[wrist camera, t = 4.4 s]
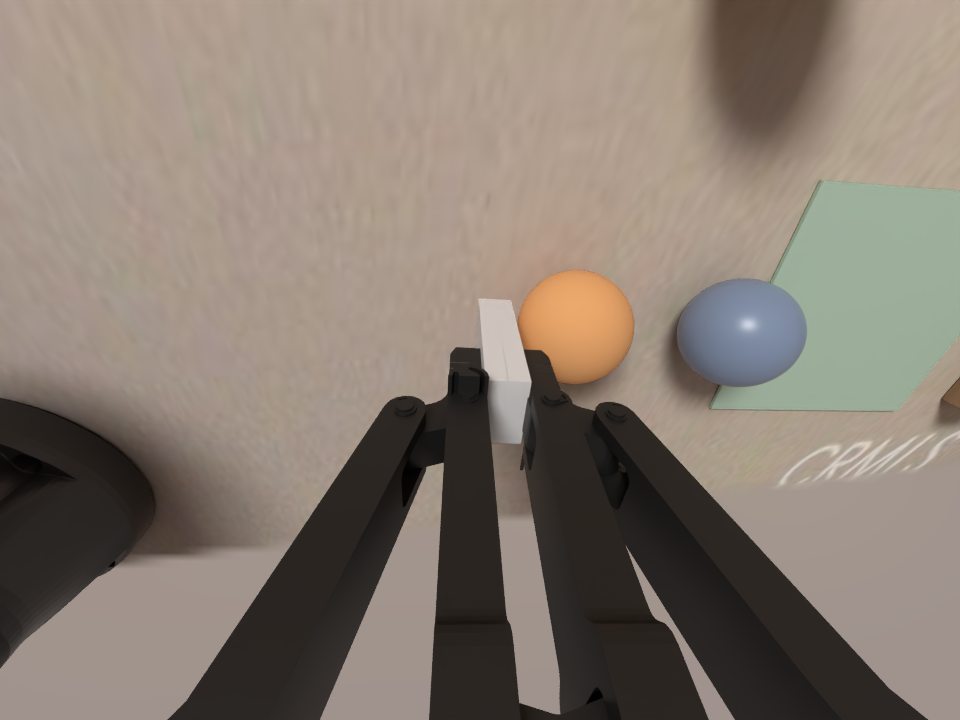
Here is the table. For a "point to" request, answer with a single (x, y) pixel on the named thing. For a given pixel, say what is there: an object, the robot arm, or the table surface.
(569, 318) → the ball
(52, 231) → the table surface
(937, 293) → the mark
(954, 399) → the rail
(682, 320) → the ball
